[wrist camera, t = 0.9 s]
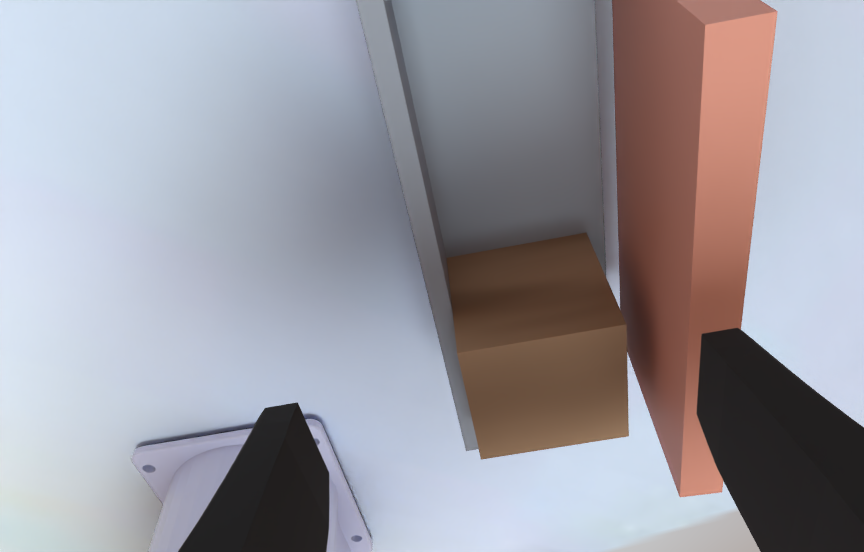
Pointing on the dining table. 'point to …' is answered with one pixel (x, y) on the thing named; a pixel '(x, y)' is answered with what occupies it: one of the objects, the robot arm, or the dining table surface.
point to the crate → (539, 346)
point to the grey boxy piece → (488, 132)
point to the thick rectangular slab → (686, 196)
